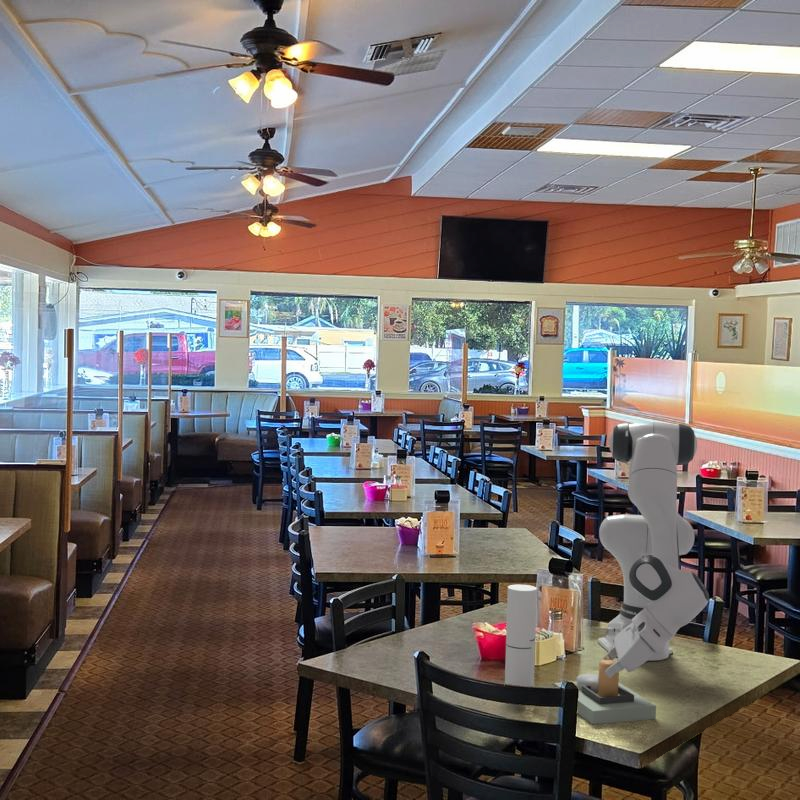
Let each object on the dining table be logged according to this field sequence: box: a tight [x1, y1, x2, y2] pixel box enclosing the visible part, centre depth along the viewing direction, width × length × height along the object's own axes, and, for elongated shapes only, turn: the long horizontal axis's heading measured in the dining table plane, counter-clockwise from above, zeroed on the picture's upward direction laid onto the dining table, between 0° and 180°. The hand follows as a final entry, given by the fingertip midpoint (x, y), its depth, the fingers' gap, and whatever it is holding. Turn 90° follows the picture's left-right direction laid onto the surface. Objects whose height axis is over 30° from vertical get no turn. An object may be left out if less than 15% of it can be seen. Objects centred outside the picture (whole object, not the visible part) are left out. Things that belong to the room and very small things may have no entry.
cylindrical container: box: [504, 583, 538, 687], centre depth 244 cm, size 7×7×25 cm
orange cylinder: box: [597, 659, 620, 697], centre depth 231 cm, size 5×5×8 cm
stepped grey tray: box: [553, 673, 657, 725], centre depth 233 cm, size 20×16×5 cm
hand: (605, 668), depth 230 cm, fingers open, 8 cm apart
